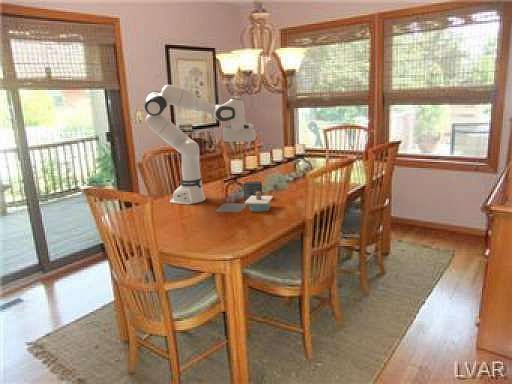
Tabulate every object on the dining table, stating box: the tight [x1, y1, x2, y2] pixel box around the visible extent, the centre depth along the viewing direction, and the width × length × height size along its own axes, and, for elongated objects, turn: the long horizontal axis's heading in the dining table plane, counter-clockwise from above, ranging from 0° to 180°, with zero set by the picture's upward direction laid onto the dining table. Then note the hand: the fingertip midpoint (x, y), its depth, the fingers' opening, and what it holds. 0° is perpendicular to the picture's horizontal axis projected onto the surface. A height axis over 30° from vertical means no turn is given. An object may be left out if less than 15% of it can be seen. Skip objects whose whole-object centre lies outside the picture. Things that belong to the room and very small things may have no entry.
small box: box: [243, 180, 263, 201], centre depth 243 cm, size 11×6×10 cm, turn 84°
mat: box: [214, 203, 248, 213], centre depth 229 cm, size 15×15×1 cm
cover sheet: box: [243, 192, 274, 205], centre depth 222 cm, size 13×13×5 cm
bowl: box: [248, 200, 271, 213], centre depth 224 cm, size 11×11×5 cm
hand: (240, 148), depth 242 cm, fingers open, 8 cm apart
